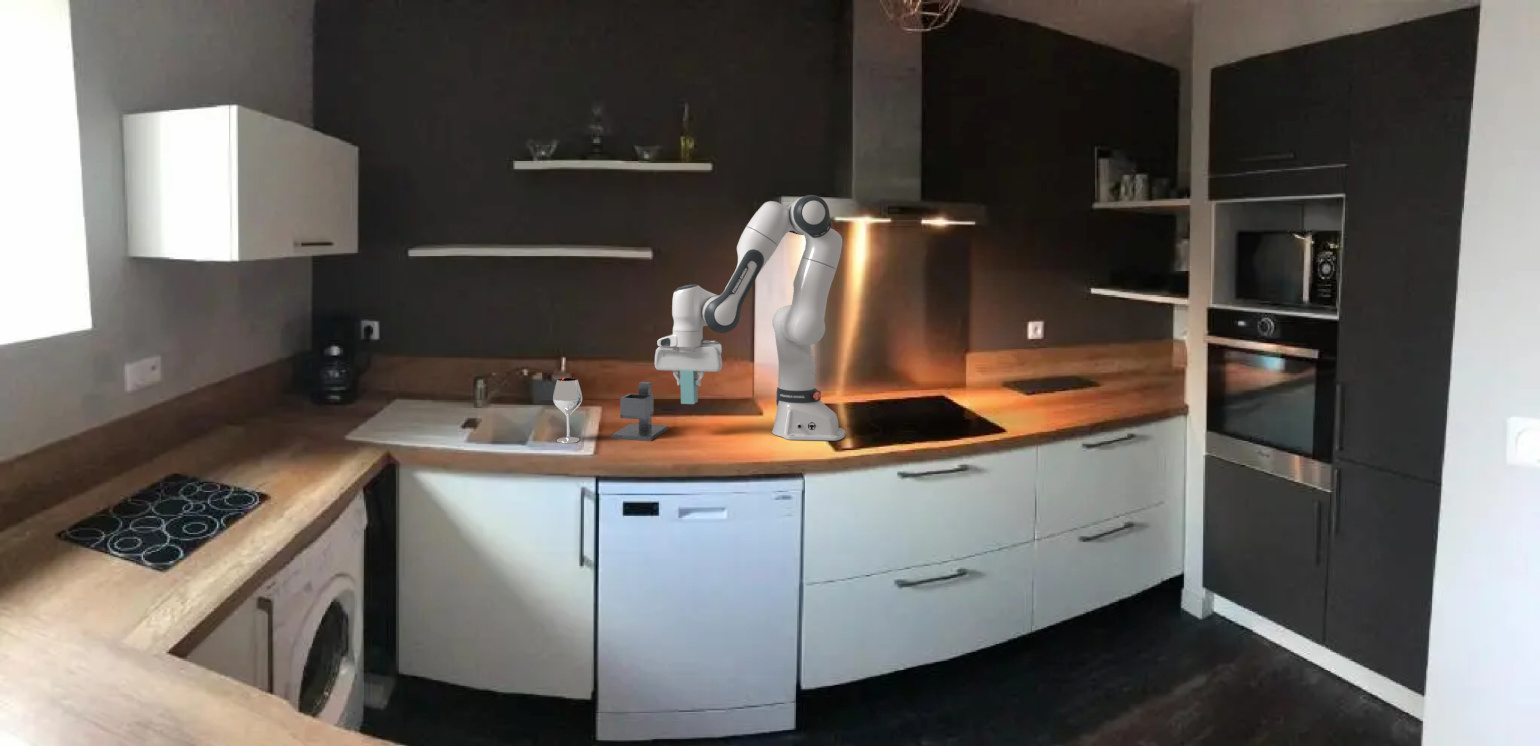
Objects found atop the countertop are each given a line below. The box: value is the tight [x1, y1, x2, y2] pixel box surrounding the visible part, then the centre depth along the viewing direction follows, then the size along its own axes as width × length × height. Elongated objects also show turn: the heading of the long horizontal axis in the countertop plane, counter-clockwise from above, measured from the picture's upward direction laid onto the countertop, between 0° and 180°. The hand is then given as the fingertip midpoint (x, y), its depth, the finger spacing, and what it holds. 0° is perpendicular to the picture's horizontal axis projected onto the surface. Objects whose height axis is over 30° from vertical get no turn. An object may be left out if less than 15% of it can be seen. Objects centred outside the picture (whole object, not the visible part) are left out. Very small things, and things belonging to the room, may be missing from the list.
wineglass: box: [552, 377, 583, 444], centre depth 249 cm, size 8×8×18 cm
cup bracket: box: [611, 381, 669, 442], centre depth 259 cm, size 12×16×15 cm
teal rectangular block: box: [679, 371, 699, 405], centre depth 257 cm, size 4×4×10 cm
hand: (688, 385), depth 257 cm, fingers closed on teal rectangular block, 4 cm apart
